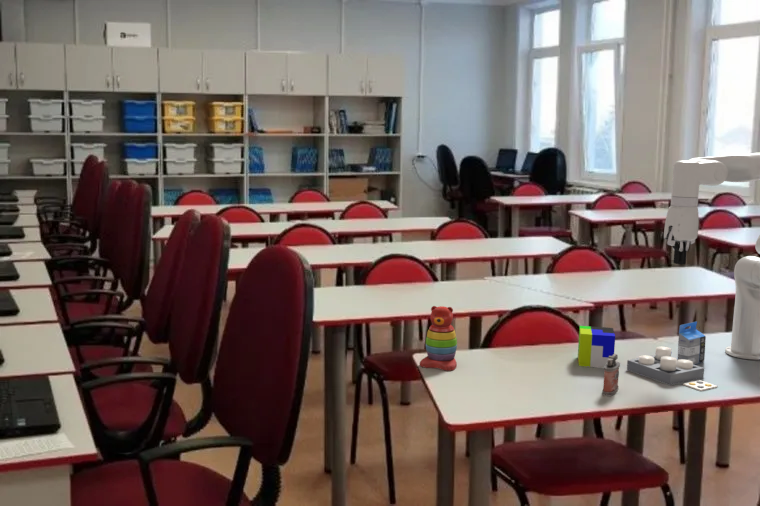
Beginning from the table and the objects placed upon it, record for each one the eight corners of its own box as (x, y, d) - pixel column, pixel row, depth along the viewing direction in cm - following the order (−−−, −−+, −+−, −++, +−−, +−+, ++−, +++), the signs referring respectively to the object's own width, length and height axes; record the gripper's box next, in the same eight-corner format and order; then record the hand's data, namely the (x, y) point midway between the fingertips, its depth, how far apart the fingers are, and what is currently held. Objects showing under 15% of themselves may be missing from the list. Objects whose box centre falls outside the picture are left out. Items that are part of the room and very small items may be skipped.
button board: (659, 363, 252) (660, 353, 252) (703, 378, 239) (704, 368, 238) (626, 369, 245) (627, 360, 245) (670, 385, 232) (670, 374, 231)
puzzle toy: (613, 368, 246) (615, 336, 245) (578, 366, 248) (580, 333, 247) (610, 359, 256) (612, 327, 255) (577, 356, 258) (579, 325, 256)
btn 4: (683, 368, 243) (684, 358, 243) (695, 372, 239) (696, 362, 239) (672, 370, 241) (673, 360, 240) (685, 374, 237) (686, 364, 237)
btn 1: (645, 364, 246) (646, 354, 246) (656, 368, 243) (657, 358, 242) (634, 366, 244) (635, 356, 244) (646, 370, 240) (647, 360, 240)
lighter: (612, 396, 221) (614, 360, 220) (599, 394, 223) (601, 358, 221) (620, 388, 228) (623, 353, 226) (608, 386, 230) (610, 351, 228)
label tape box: (687, 367, 249) (690, 327, 247) (675, 363, 252) (679, 324, 250) (704, 362, 254) (707, 323, 252) (692, 359, 258) (696, 320, 255)
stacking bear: (417, 366, 245) (419, 308, 242) (428, 358, 254) (430, 301, 251) (452, 371, 241) (454, 312, 238) (462, 362, 250) (464, 305, 247)
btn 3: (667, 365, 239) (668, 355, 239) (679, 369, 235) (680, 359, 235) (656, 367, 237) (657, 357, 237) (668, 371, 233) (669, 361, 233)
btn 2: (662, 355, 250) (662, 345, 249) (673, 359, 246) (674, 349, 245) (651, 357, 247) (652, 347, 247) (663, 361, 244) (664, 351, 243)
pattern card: (699, 381, 236) (699, 379, 236) (717, 387, 230) (717, 385, 230) (682, 384, 232) (683, 383, 232) (700, 391, 227) (700, 389, 227)
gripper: (690, 200, 251) (686, 260, 254) (656, 202, 243) (652, 263, 246) (711, 203, 244) (706, 264, 247) (677, 204, 237) (672, 267, 240)
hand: (679, 263), depth 247 cm, fingers closed
